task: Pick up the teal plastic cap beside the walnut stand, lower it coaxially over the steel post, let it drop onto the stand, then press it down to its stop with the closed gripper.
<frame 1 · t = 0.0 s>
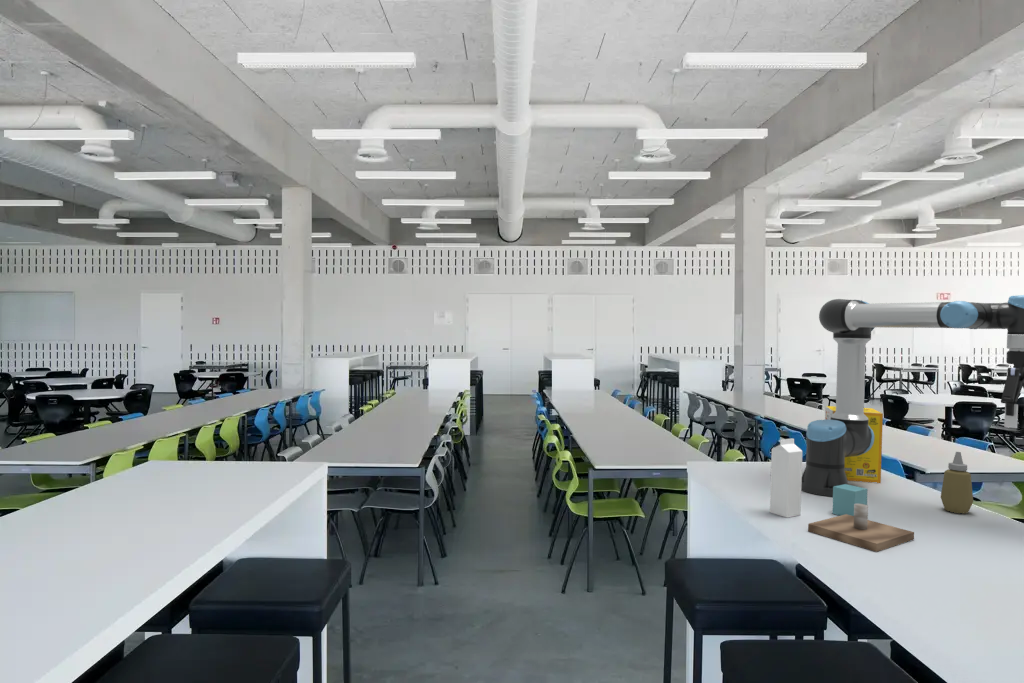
hand: (1021, 426, 178), 28 cm above the table, tool pointing down, fingers open, 13 cm apart
packaging box: (850, 476, 236), on the table
walnut stand: (860, 535, 167), on the table
teal cap: (849, 514, 186), on the table
milk: (785, 514, 186), on the table
squeeze bottle: (956, 512, 192), on the table
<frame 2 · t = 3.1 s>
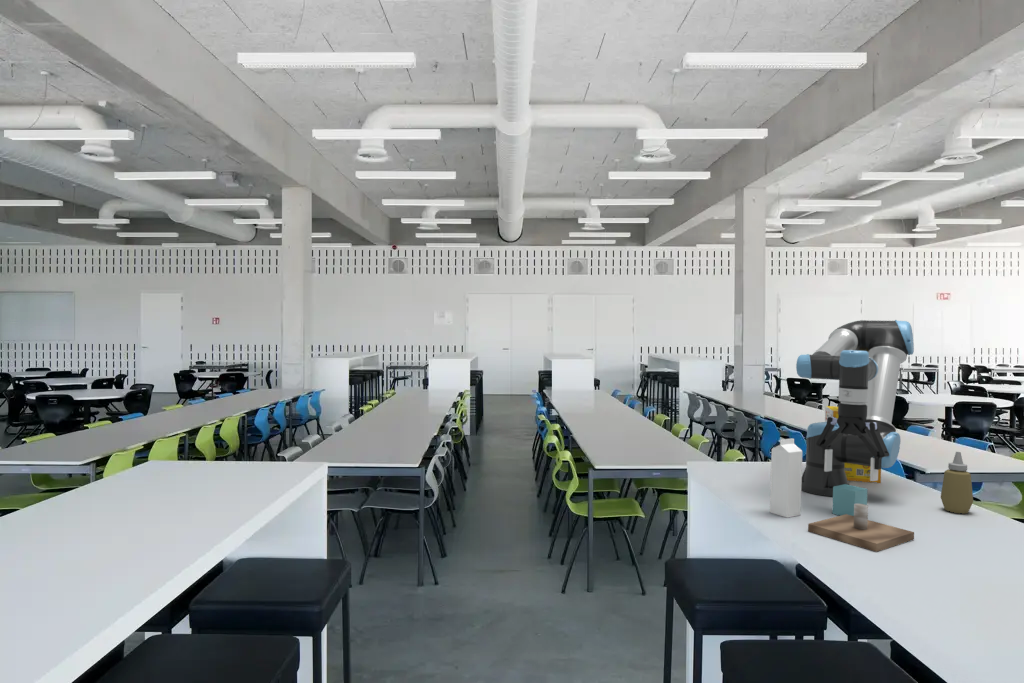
hand: (850, 475, 185), 12 cm above the table, tool pointing down, fingers open, 13 cm apart
nothing on the table moved.
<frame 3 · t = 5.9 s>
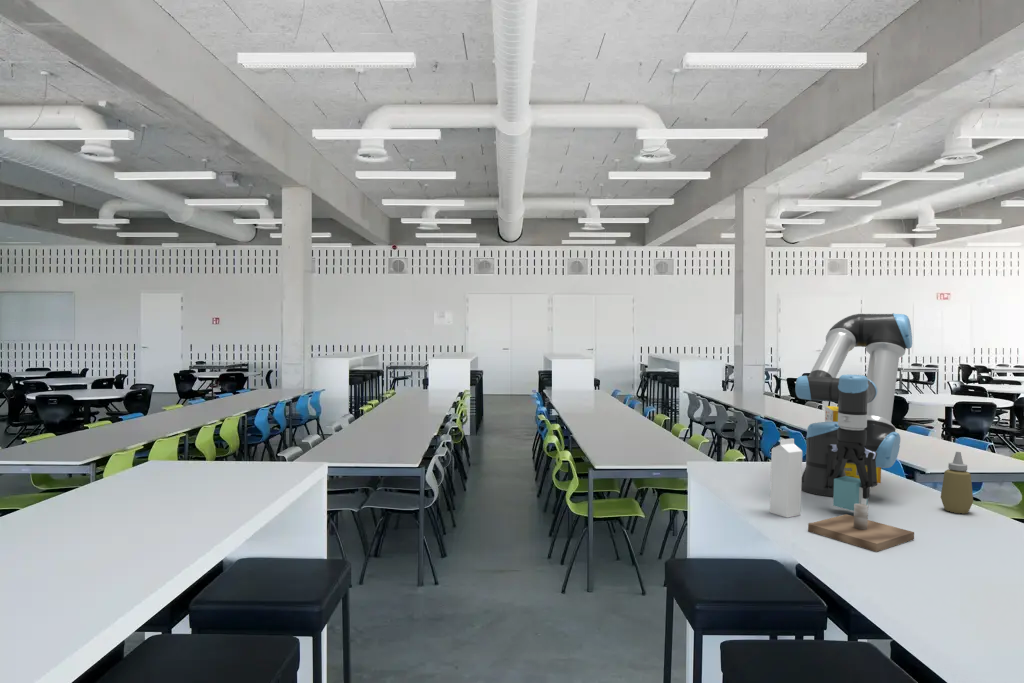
hand: (850, 505, 186), 3 cm above the table, tool pointing down, fingers closed on teal cap, 6 cm apart
teal cap: (850, 506, 186), point 2 cm above the table, touching gripper
everything else where it was.
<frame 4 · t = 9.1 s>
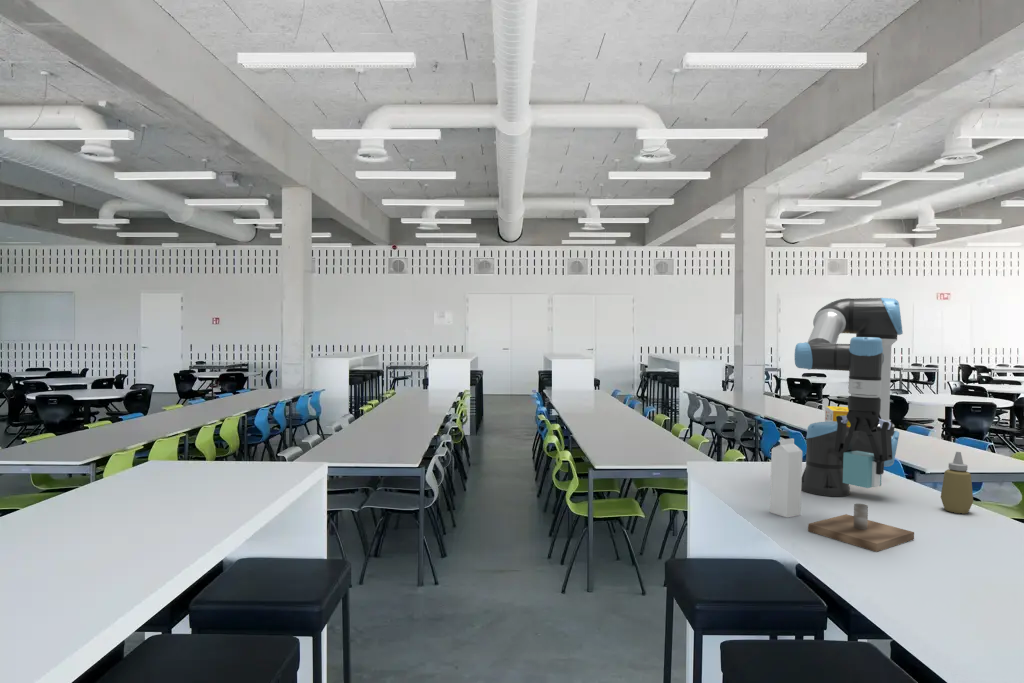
hand: (861, 483, 167), 14 cm above the table, tool pointing down, fingers closed on teal cap, 6 cm apart
teal cap: (861, 484, 167), point 14 cm above the table, touching gripper
everything else where it was.
when the fingers open (2 cm above the table, at t = 12.1 s): teal cap stays where it is, resting on walnut stand.
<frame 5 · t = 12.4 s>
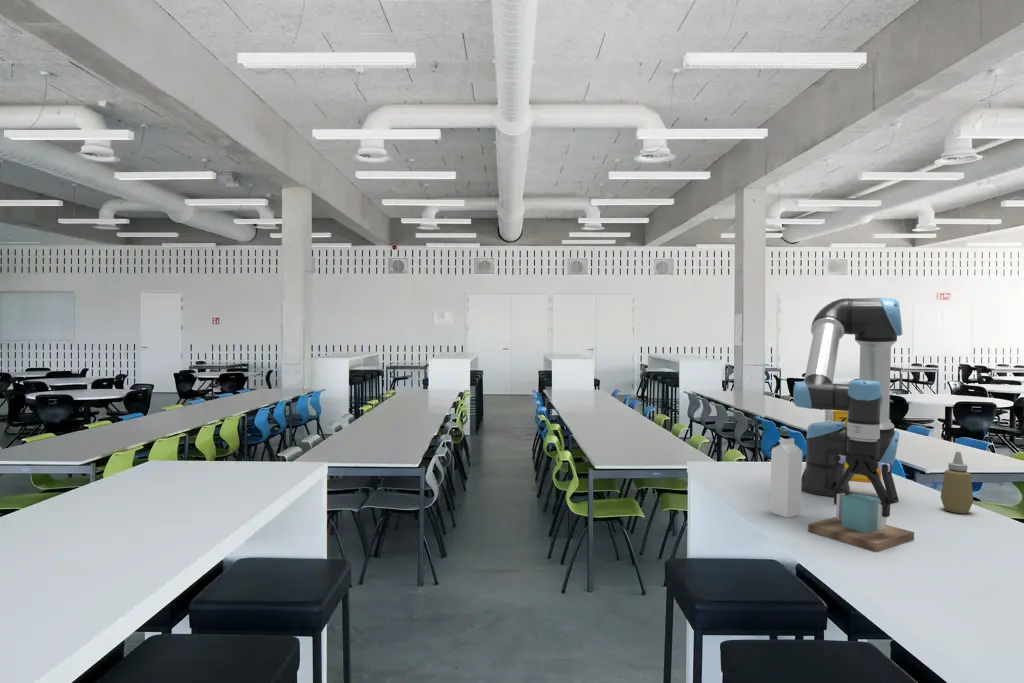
hand: (860, 523, 167), 3 cm above the table, tool pointing down, fingers open, 10 cm apart
teal cap: (860, 527, 167), point 2 cm above the table, touching walnut stand
everything else where it was.
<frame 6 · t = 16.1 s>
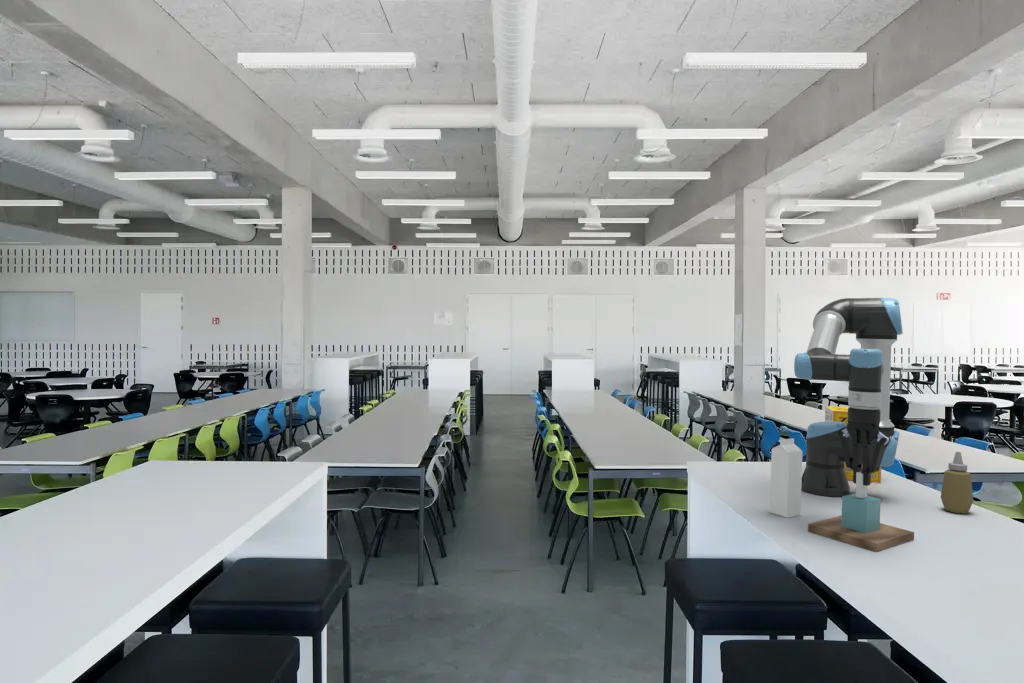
hand: (861, 496, 167), 10 cm above the table, tool pointing down, fingers closed
teal cap: (860, 527, 167), point 2 cm above the table, touching gripper, walnut stand
everything else where it was.
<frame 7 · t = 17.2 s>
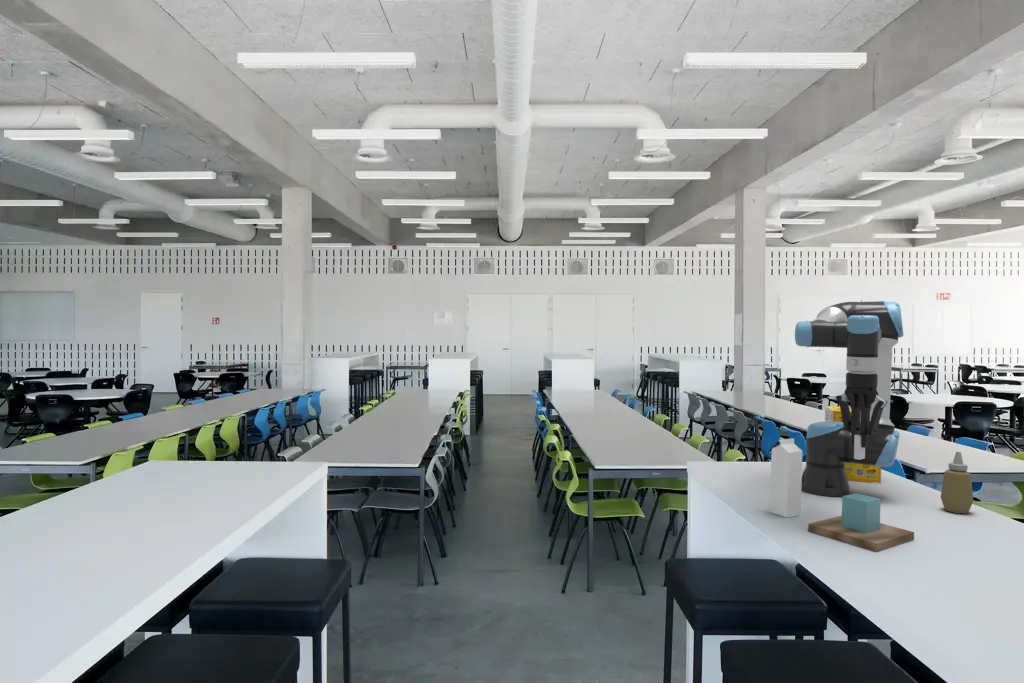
hand: (859, 458, 173), 19 cm above the table, tool pointing down, fingers closed
teal cap: (860, 527, 167), point 2 cm above the table, touching walnut stand
everything else where it was.
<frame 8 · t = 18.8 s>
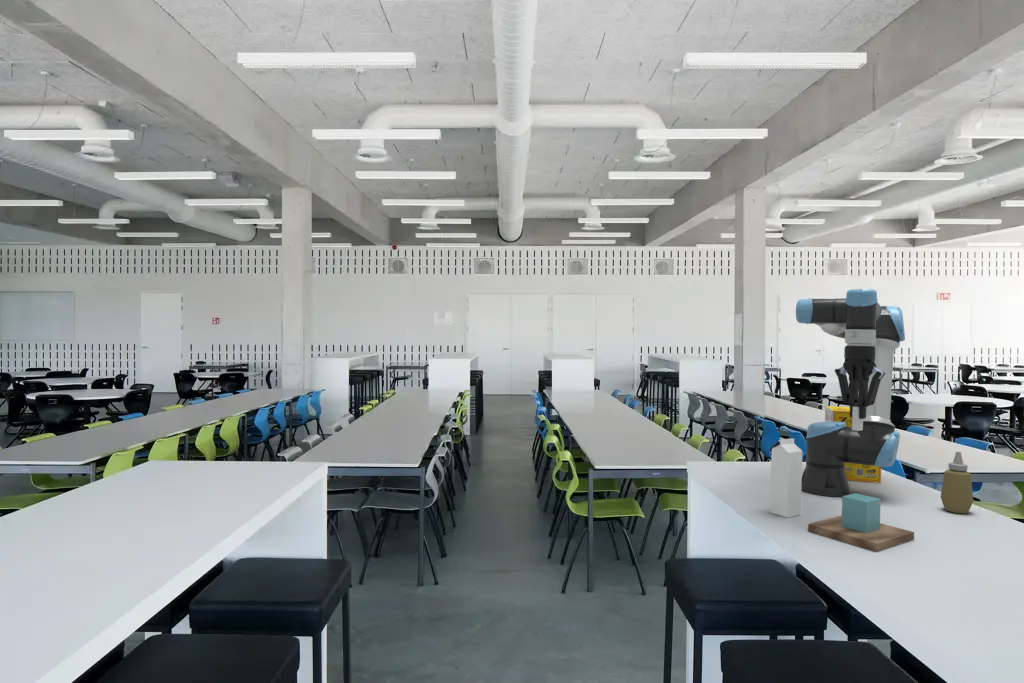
hand: (857, 430, 176), 26 cm above the table, tool pointing down, fingers closed
nothing on the table moved.
at the end: teal cap 0.0 cm off-centre on the walnut stand, point 2.0 cm above the walnut stand's base; teal cap tilted 0°; the gripper is holding nothing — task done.
